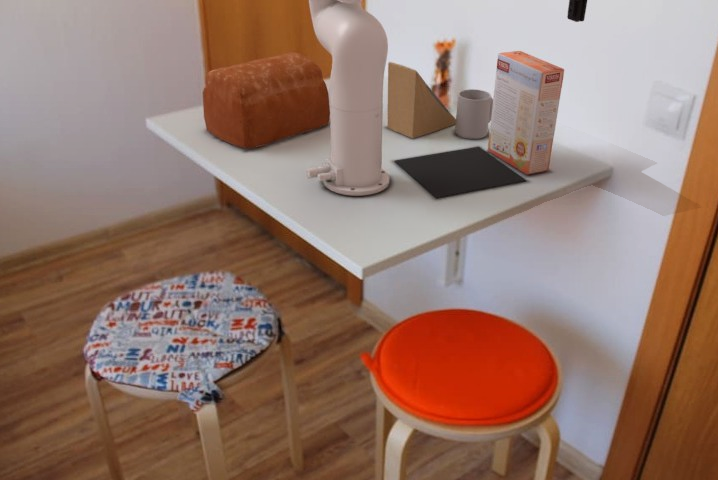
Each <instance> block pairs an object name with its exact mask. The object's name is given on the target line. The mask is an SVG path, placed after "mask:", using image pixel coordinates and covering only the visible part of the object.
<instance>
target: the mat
mask: <svg viewBox="0 0 718 480" xmlns="http://www.w3.org/2000/svg"><path fill="white" fill-rule="evenodd" d="M394 163H396V164H397V165H398V166H399V167H400V168H401V169H402V170H403V171H404V172H406V173H407V174H408V175H409V176H410V177H411V178H412V179H413V180H414V181H416V183H418V184H419V185H421V187H423V188H424V190H426V191H427V192H429V193H430V194H431V195H432V196H433V197H434V198H435V199H441V198H447V197H453V196H457V195H462V194H468V193H473V192H478V191H483V190H489V189H493V188H494V189H495V188H500V187H504V186H509V185H514V184H521V183H524V182H527V179H525V178H524V177H523V176H521V175H520V174H519V173H517V172H515V171H514V170H513V169H512V168H510V167H509V166H507V164H506V165H505V163H503V162H501V161H500V160H498V159H497V158H496V157H495V156H493V155H491V154H490V152H488V151H486V150H485V149H483V148H482V147H480V146H475V147H468V148H461V149H457V150H449V151H444V152H443V151H442V152H437V153H431V154H426V155H420V156H414V157H408V158H401V159H396V160H394Z"/></svg>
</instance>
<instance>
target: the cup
mask: <svg viewBox="0 0 718 480" xmlns="http://www.w3.org/2000/svg"><path fill="white" fill-rule="evenodd" d="M456 102H457V104H456V115H455V119H456V124H455V127H454V128H455V134H456V135H457V136H458V137H460V138H463V139H466V140H480V139H484V138H485V137H486V136H487V135H488V132H489V131H488V130H489V123H491V116H492V106H493V97H492V94H491V93H490V92H489V91H486V90H482V89H475V88H474V89H473V88H472V89H471V88H470V89H469V88H467V89H461V90H459V92H458V93H457V101H456Z"/></svg>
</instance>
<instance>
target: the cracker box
mask: <svg viewBox="0 0 718 480" xmlns="http://www.w3.org/2000/svg"><path fill="white" fill-rule="evenodd" d="M564 75H565V69H564V68H562V67H560V66H558V65H555V64H552V63H550V62H548V61H546V60H543V59H541V58H539V57H536V56H533V55H531V54H529V53H526V52H524V51H521V50H513V51H506V52H499V53H497V61H496V70H495V79H494V90H493V97H492V99H493V106H492V116H491V121H490V126H489V135H488V144H487V152H488V153H491V154H493V155H494V156H496V157H497V158H498V159H501V160H502V161H503V162H505V163H506V164H508V165H510V166H512V167H514V168H515V169H517V170H518V171H520V172H521V173H523V174H525V175H533V174H538V173H543V172H547V171H549V170H550V163H551V156H552V152H553V151H552V150H553V145H554V137H555V132H556V125H557V121H558V120H557V119H558V113H559V107H560V106H559V105H560V100H561V94H562V88H563V81H564Z"/></svg>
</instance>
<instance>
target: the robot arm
mask: <svg viewBox="0 0 718 480" xmlns="http://www.w3.org/2000/svg"><path fill="white" fill-rule="evenodd" d="M362 1H363V0H308V6H309V11H310V16H311V17H310V18H311V22H312V26H313V32H314V34H315V36H316V39H317V41H318V42H319V44H320V45H321V46H322V47H323V48H324V49H325V50H326V51H327V52H328V53H329V54H330V55H331V60H332V61H331V70H330V77H329V88H328V89H329V90H328V93H329V106H330V118H329V124H330V128H329V129H330V157H327V158H326V159H325V163H323V164H321V166H310V167H307V168H306V170H305V172H306V177H307V178H308V179H313V178H317V181H318V182H323V184H324V187H326V188H327V189H328V190H330V191H331V192H334V193H336V194H340V195H344V196H353V197H363V196H370V195H375V194H378V193H380V192H382V191H384V190H386V189H387V187H389V184H390V175H389V173H388V172H387V171H386V170H385V169H383V168H382V165H383V162H382V161H383V153H382V152H383V116H384V115H383V114H384V113H383V109H384V104H383V103H384V101H383V100H384V80H385V79H384V78H385V71H386V70H385V69H386V65H387V59H388V54H389V53H388V51H389V42H388V36H387V33H386V30H385V28H384V27H383V24H382V23H381V22H380V21H379V19H378V18H377V17H375V16H374V15H372V13H370V12H369V11H367V10H365V9H364V8H363V7H362ZM587 6H588V0H568V7H567V8H568V9H567V16H566V17H567V20H570V21H572V22H575V23H579V22H584V21H585V17H586V11H587Z"/></svg>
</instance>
